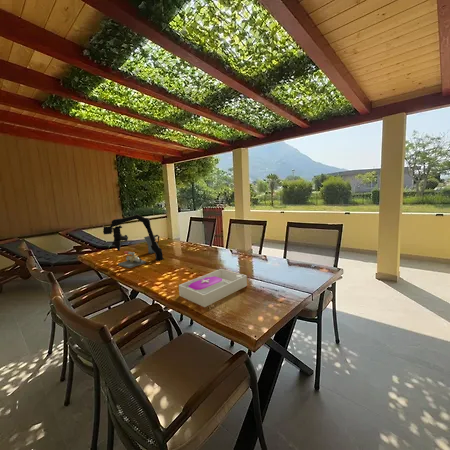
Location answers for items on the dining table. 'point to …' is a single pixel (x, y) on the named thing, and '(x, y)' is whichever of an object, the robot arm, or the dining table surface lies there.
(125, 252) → the valve lever
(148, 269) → the dining table surface
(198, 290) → the white tray with pad
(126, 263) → the valve board
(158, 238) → the moka pot
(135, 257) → the valve body
